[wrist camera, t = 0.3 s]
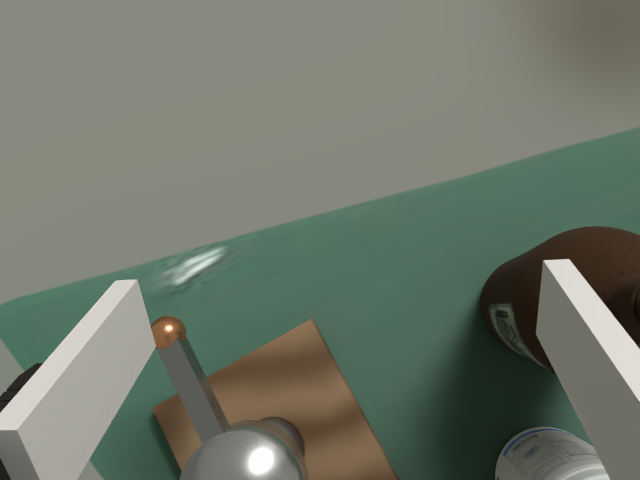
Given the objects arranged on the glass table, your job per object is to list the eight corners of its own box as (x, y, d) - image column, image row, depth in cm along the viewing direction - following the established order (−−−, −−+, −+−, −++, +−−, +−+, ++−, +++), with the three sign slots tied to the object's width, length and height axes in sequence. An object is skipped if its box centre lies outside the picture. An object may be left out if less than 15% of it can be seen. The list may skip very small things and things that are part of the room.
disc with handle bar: (381, 608, 38) (381, 643, 34) (276, 664, 38) (264, 705, 34) (218, 290, 42) (202, 289, 39) (126, 343, 43) (100, 347, 39)
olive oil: (531, 228, 50) (680, 153, 25) (613, 310, 48) (859, 316, 24) (450, 300, 50) (519, 296, 25) (529, 385, 48) (686, 470, 24)
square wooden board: (403, 487, 48) (410, 532, 39) (239, 577, 49) (205, 643, 39) (312, 318, 51) (297, 321, 42) (158, 405, 52) (108, 427, 42)
